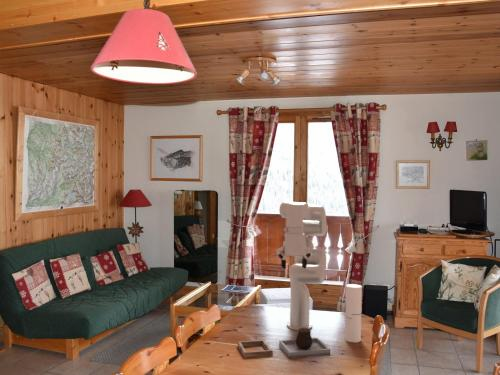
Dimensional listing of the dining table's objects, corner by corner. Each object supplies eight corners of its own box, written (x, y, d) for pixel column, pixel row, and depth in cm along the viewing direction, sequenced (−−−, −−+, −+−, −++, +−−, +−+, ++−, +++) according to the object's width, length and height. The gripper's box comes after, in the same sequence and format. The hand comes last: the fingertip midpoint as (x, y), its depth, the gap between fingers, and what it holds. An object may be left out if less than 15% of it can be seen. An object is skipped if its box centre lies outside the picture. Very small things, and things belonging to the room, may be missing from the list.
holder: (237, 346, 198) (237, 341, 198) (263, 344, 201) (264, 339, 201) (244, 357, 185) (244, 352, 185) (272, 355, 188) (272, 350, 188)
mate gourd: (302, 343, 200) (303, 321, 199) (316, 348, 194) (316, 325, 194) (291, 347, 194) (292, 324, 194) (305, 352, 189) (306, 329, 189)
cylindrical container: (361, 343, 204) (362, 288, 204) (344, 341, 206) (346, 287, 205) (360, 337, 211) (361, 284, 211) (344, 336, 213) (345, 283, 212)
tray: (279, 346, 199) (279, 340, 199) (317, 343, 203) (317, 337, 203) (289, 358, 185) (289, 352, 185) (330, 355, 190) (330, 349, 189)
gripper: (279, 231, 199) (278, 270, 199) (315, 231, 203) (314, 269, 203) (274, 229, 206) (273, 267, 206) (309, 229, 210) (308, 266, 211)
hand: (294, 268), depth 205 cm, fingers open, 9 cm apart
